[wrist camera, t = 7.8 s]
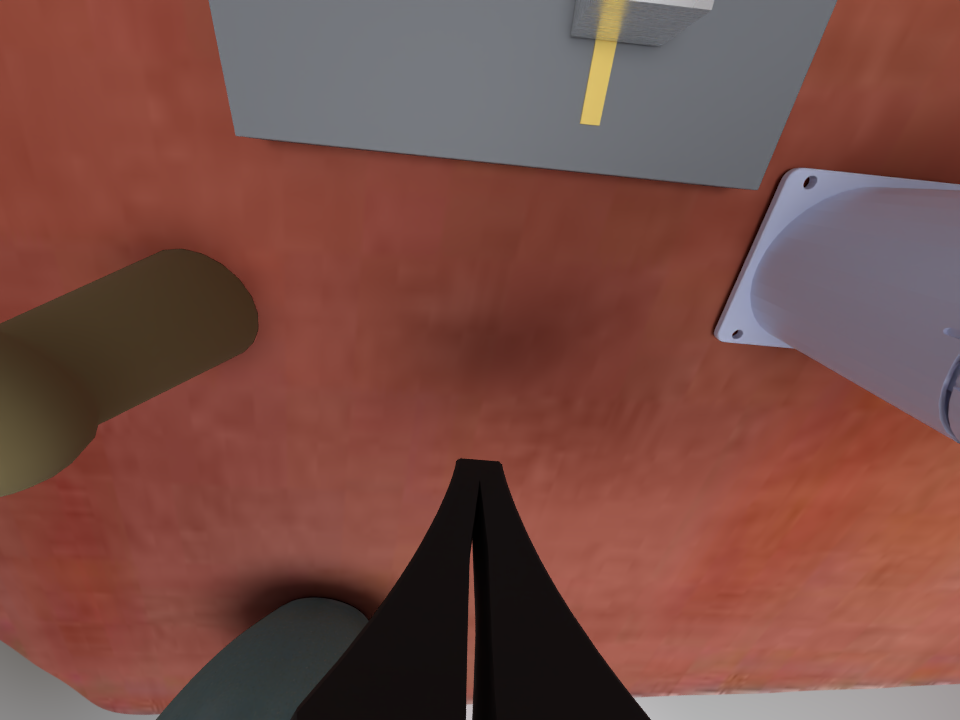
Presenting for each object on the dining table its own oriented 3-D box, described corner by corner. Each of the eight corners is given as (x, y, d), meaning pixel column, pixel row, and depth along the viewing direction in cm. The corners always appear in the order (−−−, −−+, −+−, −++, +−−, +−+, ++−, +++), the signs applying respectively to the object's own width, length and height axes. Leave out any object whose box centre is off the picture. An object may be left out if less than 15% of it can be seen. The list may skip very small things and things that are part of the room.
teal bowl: (394, 678, 39) (358, 875, 28) (221, 646, 36) (107, 850, 25) (447, 592, 31) (425, 821, 20) (228, 541, 28) (65, 775, 17)
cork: (218, 236, 17) (-145, 325, 7) (278, 347, 20) (76, 519, 10) (110, 263, 18) (-353, 377, 8) (183, 366, 20) (-93, 545, 11)
